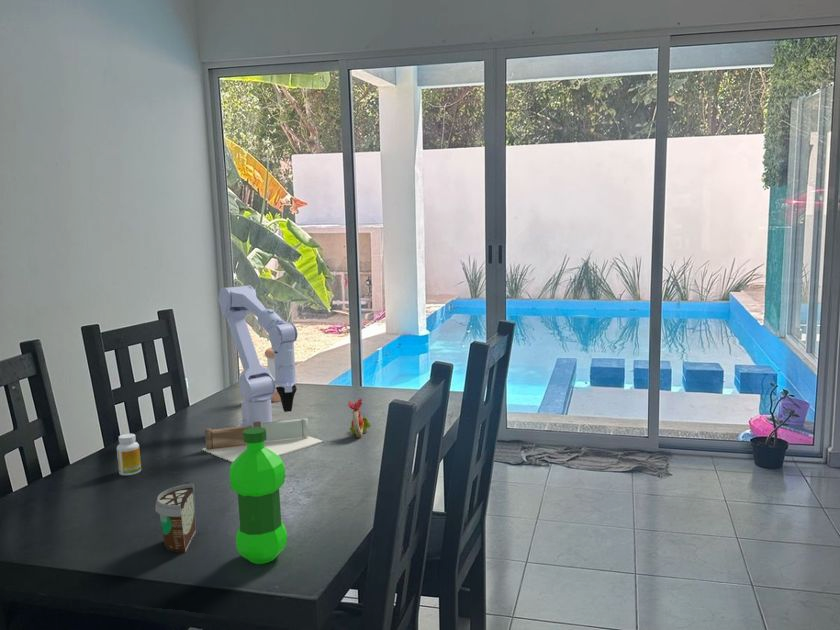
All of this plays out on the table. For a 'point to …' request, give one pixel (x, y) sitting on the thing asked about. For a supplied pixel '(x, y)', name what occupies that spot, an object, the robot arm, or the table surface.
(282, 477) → the plastic bottle
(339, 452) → the table surface
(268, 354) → the pepper shaker
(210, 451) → the board
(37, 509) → the table surface
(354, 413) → the bird rattle
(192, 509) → the food container
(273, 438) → the fence gate
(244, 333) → the robot arm
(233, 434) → the bar
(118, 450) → the supplement bottle
